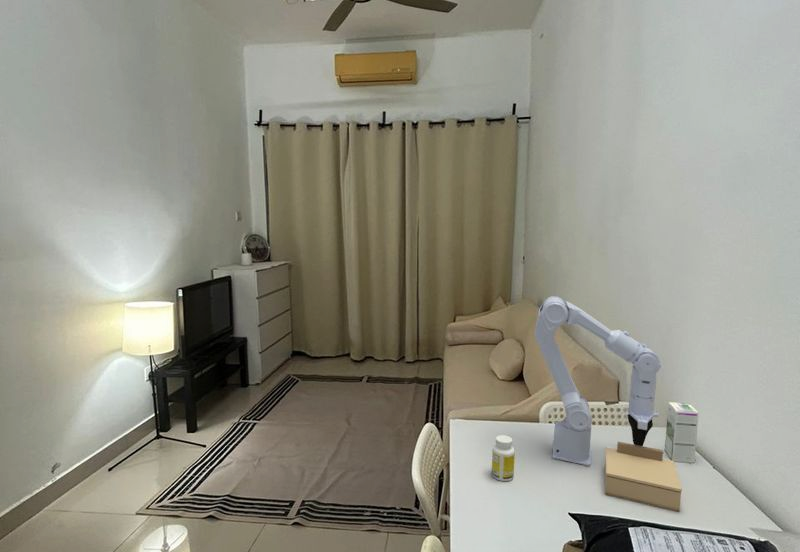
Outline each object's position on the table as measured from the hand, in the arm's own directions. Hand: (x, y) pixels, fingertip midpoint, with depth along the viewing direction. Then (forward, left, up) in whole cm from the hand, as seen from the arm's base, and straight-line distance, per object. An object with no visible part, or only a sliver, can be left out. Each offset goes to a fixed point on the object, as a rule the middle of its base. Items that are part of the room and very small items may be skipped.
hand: (637, 444), depth 118 cm
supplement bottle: (-31, -20, -6) cm, 37 cm away
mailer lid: (0, -11, -1) cm, 11 cm away
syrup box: (+11, +10, -6) cm, 16 cm away
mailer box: (0, -11, -6) cm, 12 cm away
